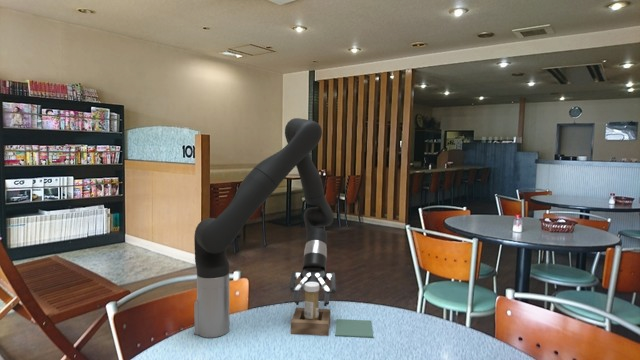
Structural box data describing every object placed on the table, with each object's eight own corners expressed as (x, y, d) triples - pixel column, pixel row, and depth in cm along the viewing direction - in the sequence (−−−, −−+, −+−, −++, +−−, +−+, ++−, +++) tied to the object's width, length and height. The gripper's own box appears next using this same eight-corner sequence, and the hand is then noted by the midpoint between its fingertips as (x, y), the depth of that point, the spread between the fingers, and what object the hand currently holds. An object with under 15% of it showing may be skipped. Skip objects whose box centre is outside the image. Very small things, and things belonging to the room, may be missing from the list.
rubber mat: (335, 336, 113) (335, 334, 113) (336, 320, 124) (336, 319, 124) (373, 337, 113) (373, 336, 113) (371, 321, 124) (371, 320, 124)
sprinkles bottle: (321, 327, 119) (322, 284, 118) (308, 331, 116) (309, 287, 116) (313, 322, 123) (314, 280, 122) (301, 325, 120) (301, 282, 119)
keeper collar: (290, 333, 114) (290, 322, 114) (296, 318, 125) (296, 307, 125) (328, 335, 114) (328, 324, 113) (330, 319, 125) (330, 309, 124)
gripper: (292, 250, 126) (286, 298, 116) (336, 252, 125) (334, 300, 115) (294, 262, 132) (289, 308, 121) (336, 263, 131) (335, 310, 120)
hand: (311, 304), depth 118 cm, fingers open, 8 cm apart
